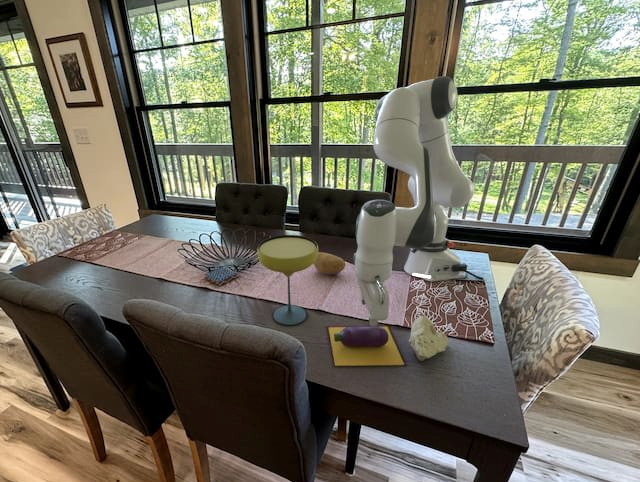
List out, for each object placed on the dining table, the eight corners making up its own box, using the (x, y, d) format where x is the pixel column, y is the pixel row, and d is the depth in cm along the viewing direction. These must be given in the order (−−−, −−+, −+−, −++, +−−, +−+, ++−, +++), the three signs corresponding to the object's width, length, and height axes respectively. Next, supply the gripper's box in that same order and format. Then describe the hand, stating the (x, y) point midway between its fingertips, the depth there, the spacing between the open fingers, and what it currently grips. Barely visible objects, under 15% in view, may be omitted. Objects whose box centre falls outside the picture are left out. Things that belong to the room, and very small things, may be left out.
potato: (338, 282, 121) (339, 264, 117) (307, 273, 129) (307, 255, 125) (349, 272, 128) (350, 254, 124) (319, 264, 135) (320, 247, 132)
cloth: (387, 326, 96) (387, 326, 96) (404, 365, 81) (404, 364, 81) (328, 327, 96) (328, 327, 96) (335, 366, 82) (335, 365, 82)
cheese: (422, 335, 94) (390, 314, 89) (445, 325, 90) (412, 303, 84) (435, 384, 84) (399, 364, 78) (461, 375, 79) (425, 354, 74)
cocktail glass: (315, 334, 94) (316, 260, 82) (256, 330, 97) (249, 257, 85) (318, 301, 109) (320, 235, 98) (268, 298, 113) (264, 233, 101)
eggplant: (384, 337, 91) (386, 322, 88) (389, 350, 86) (392, 334, 84) (332, 338, 92) (333, 323, 89) (335, 351, 87) (336, 335, 84)
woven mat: (219, 286, 122) (218, 282, 121) (203, 278, 128) (202, 274, 127) (239, 276, 128) (239, 272, 127) (223, 269, 135) (223, 265, 134)
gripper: (399, 289, 68) (391, 338, 74) (375, 250, 86) (371, 292, 92) (369, 290, 68) (365, 339, 75) (352, 251, 86) (349, 293, 93)
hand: (368, 313), depth 84 cm, fingers open, 8 cm apart
